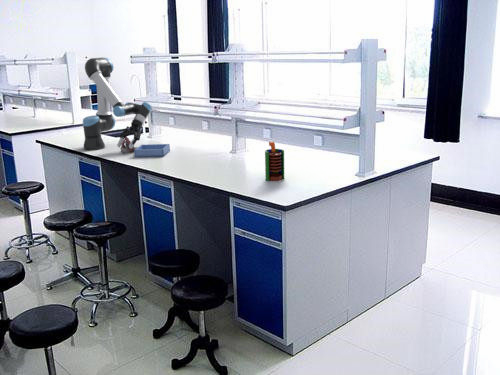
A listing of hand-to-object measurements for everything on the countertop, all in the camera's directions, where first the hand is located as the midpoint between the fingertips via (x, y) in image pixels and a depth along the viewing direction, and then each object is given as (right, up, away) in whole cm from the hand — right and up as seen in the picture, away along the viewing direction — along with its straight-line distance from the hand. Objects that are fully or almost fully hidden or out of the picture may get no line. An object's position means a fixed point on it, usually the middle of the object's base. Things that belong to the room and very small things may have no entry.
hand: (124, 147), depth 354 cm
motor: (+101, -24, -80) cm, 131 cm away
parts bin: (+21, -5, -5) cm, 22 cm away
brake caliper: (+2, -3, +4) cm, 6 cm away
